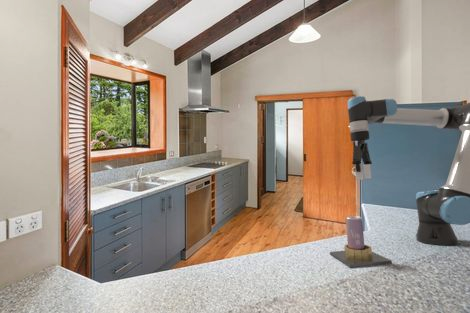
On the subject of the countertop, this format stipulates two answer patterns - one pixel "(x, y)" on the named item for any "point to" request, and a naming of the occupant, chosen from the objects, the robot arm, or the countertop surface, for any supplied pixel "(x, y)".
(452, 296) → the countertop surface
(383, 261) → the pipe socket
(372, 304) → the countertop surface
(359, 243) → the beverage can
